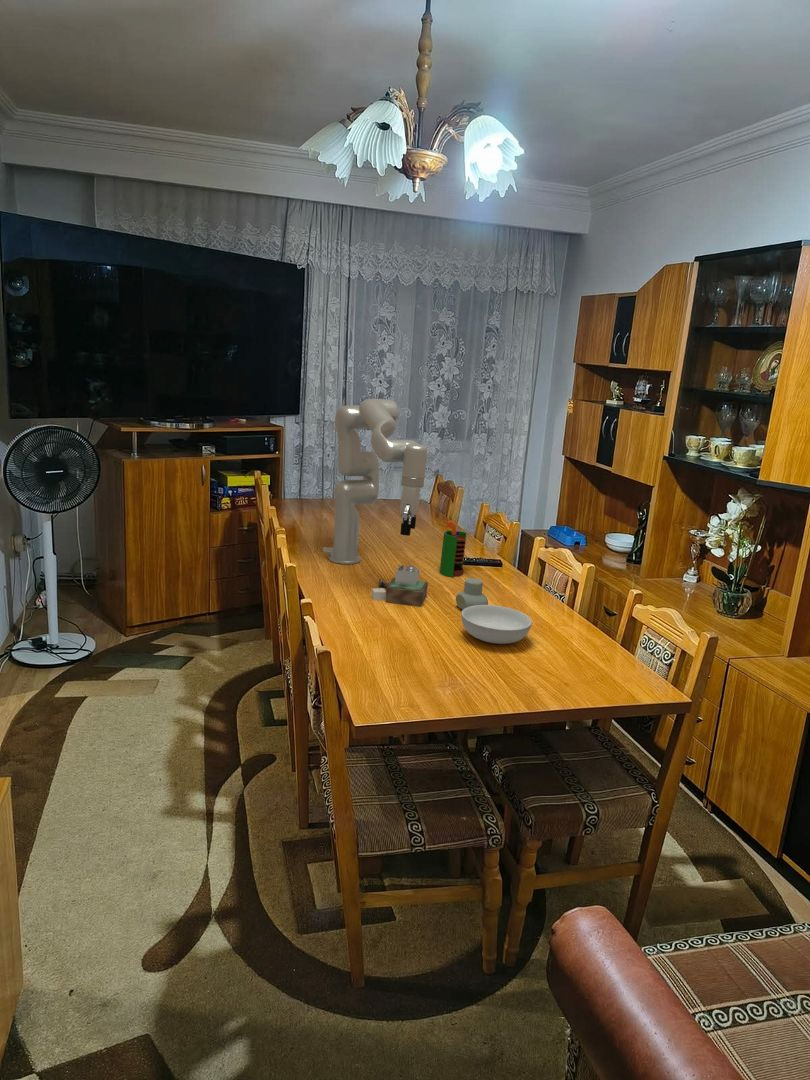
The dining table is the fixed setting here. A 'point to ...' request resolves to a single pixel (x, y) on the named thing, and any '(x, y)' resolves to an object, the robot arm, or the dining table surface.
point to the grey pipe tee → (471, 594)
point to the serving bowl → (495, 623)
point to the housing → (407, 576)
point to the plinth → (407, 593)
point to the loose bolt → (383, 583)
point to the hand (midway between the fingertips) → (407, 531)
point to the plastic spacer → (378, 594)
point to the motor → (452, 551)
